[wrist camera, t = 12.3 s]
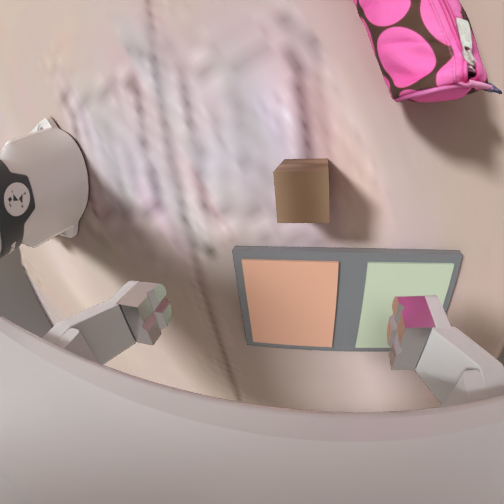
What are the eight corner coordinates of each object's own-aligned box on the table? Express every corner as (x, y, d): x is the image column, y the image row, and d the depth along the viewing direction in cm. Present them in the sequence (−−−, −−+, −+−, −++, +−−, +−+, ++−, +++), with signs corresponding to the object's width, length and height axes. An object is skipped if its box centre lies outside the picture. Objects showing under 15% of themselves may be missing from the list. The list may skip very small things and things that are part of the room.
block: (287, 200, 27) (277, 222, 22) (284, 159, 25) (273, 172, 20) (329, 200, 26) (329, 223, 21) (327, 158, 24) (328, 170, 19)
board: (249, 339, 37) (246, 346, 36) (234, 246, 31) (231, 251, 29) (430, 344, 30) (432, 351, 29) (459, 250, 24) (463, 256, 23)
